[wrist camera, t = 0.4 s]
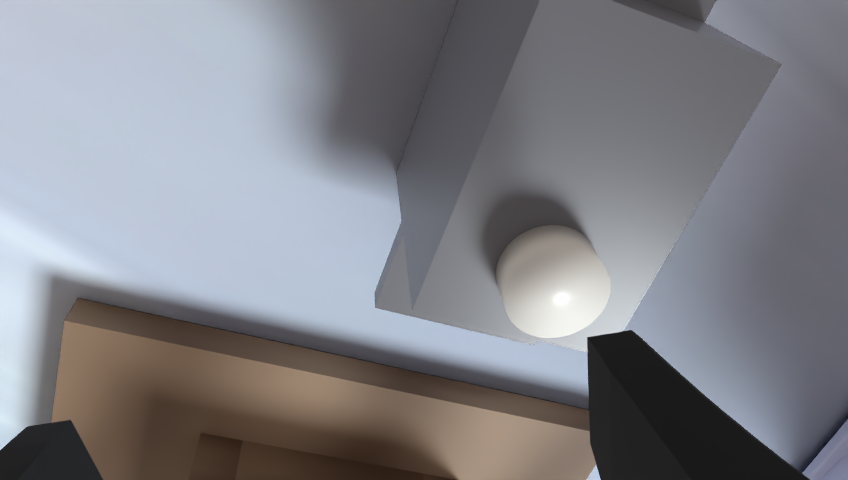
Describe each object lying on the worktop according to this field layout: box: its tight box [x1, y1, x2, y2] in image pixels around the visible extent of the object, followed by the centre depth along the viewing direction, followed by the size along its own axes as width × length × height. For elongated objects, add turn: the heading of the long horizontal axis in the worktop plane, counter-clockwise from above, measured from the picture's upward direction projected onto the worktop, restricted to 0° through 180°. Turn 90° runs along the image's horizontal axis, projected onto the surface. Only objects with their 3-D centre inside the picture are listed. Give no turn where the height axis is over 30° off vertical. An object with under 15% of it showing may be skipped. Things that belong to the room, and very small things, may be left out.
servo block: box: [375, 0, 782, 353], centre depth 14 cm, size 4×10×7 cm, turn 160°
